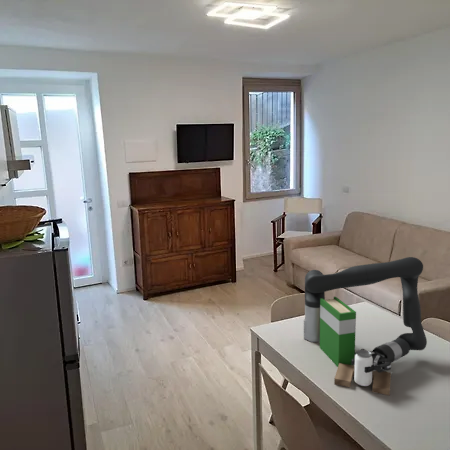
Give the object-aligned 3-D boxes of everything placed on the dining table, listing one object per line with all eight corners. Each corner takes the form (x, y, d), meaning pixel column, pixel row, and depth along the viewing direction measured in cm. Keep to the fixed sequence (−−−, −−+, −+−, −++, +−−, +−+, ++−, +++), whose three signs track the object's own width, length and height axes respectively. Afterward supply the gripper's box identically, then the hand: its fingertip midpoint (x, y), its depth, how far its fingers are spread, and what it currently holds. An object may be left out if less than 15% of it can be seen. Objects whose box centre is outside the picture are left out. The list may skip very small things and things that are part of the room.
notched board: (334, 384, 159) (334, 378, 158) (339, 368, 169) (339, 362, 169) (389, 395, 150) (389, 389, 150) (390, 378, 161) (391, 372, 161)
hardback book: (319, 347, 187) (320, 298, 182) (334, 345, 188) (335, 296, 183) (338, 367, 170) (339, 314, 165) (354, 365, 171) (356, 312, 166)
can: (373, 387, 154) (374, 358, 151) (355, 386, 155) (356, 357, 153) (370, 377, 160) (371, 349, 158) (353, 376, 161) (354, 348, 159)
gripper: (373, 337, 169) (344, 349, 160) (403, 352, 157) (374, 366, 148) (372, 354, 170) (344, 366, 162) (402, 369, 158) (373, 384, 150)
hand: (358, 366), depth 155 cm, fingers closed on can, 5 cm apart
